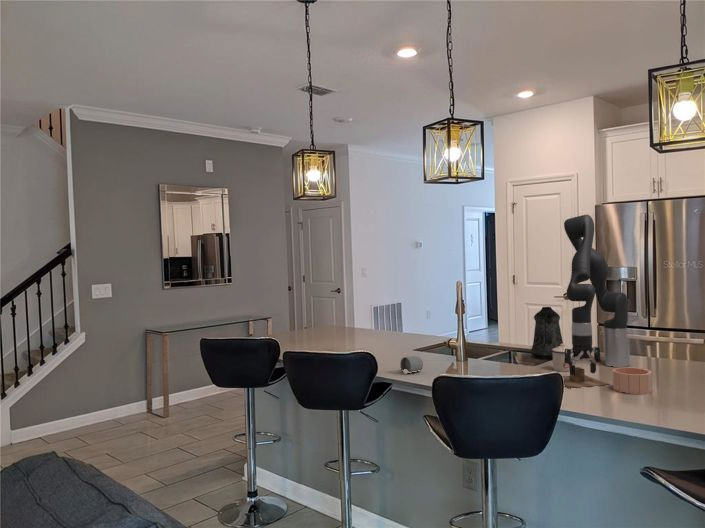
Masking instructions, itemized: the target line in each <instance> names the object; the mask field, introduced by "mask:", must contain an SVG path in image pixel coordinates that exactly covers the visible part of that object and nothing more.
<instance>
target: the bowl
mask: <svg viewBox="0 0 705 528" xmlns="http://www.w3.org/2000/svg"><path fill="white" fill-rule="evenodd" d="M611 373H612V389H613V390H614V391H616V390H617V392H618V393H623V392H625V393H626V394H629V393H630V394H632V395H634V394H635V395H645V394H651V393H653V372H652V371H651V370H650V369H647V368H640V367H632V366H631V367H630V366H626V367H614V368H613V369H612V372H611Z"/></svg>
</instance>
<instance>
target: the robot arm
mask: <svg viewBox="0 0 705 528" xmlns="http://www.w3.org/2000/svg"><path fill="white" fill-rule="evenodd" d="M563 227H564V232H565V235H566V236H567V238H568V239H569V241H570V243H571V244H572V247H573V248H574V250H575V251H576V252H575V253H574V255H573V257H572V260H571V273H570V274H571V275H570V281H569V283H568V285H567V289H566V297H567V299H568V300H569V301H571V302H585V303H584V305H581V306H576V307H573V308H572V309H571V345H572V347H571V349H567V348H566V349H565V360H564V362H565V363H567V364H569V367H570V372H569V374H570V373H571V374H572V375H575V367H576V364H577V362H578V361H580V360H583V359H585V360H588V361H589V362H590V364H589V368H590V370H589V371H590V373H591V374H595V373H596V372H597V364H598V363H601V361H602V360H601V349H600V347H597V346H593V326H592V325H593V324H592V307H593V303H594V299H595V297H596V299H597V302H598V305H599V307H600V308H601V310H602V311H603V312H605V313H614V316H613V317H612V318H611V319H606V320H605V321H604V322H603V331H604V332H603V334H604V361H605V362H604V364H605V366H607V367H611V366H613V367H612V368H620V367H630V366H631V359H630V358H631V357H630V344H628V327H627V325H628V320H629V299H628V296H627V295H626V293H623V292H615V291H614V292H612V291H609V289H608V288H607V286H606V281H607V278H608V277H609V272H610V268H609V265H608V263H607V261H606V259H605V257H604V255H603V254H602V253H601V252H599V251H598V250H596V249H594V248H593V243H594V237H595V223H594V220H593V218H592V216H591V215H589V214H582V215H579V216H575V217H574V216H573V217H570V218H567V219H566V220H565V221H564V222H563ZM588 280H589V281H590V283H583V282H587V281H588ZM572 352H573V355H572V357H571V354H572ZM592 354H593V355H592Z"/></svg>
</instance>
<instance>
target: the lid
mask: <svg viewBox="0 0 705 528" xmlns="http://www.w3.org/2000/svg"><path fill="white" fill-rule="evenodd" d="M563 378H564V385H565V387H564V388H566V387H567V388H566V389H569V388H570V389H569V390H572V389H571V388H576V389H582V388H581V387H587V388H595V387H594V386H599V387H606V386H605V385H610V383H608V382H605V381H602V380H600V379H597V378H595V377H592V376H588V375H587V374H585V368H583V367H579V366H575V375H572V374H571V373H570V372H569V375H563ZM610 386H611V385H610Z"/></svg>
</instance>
